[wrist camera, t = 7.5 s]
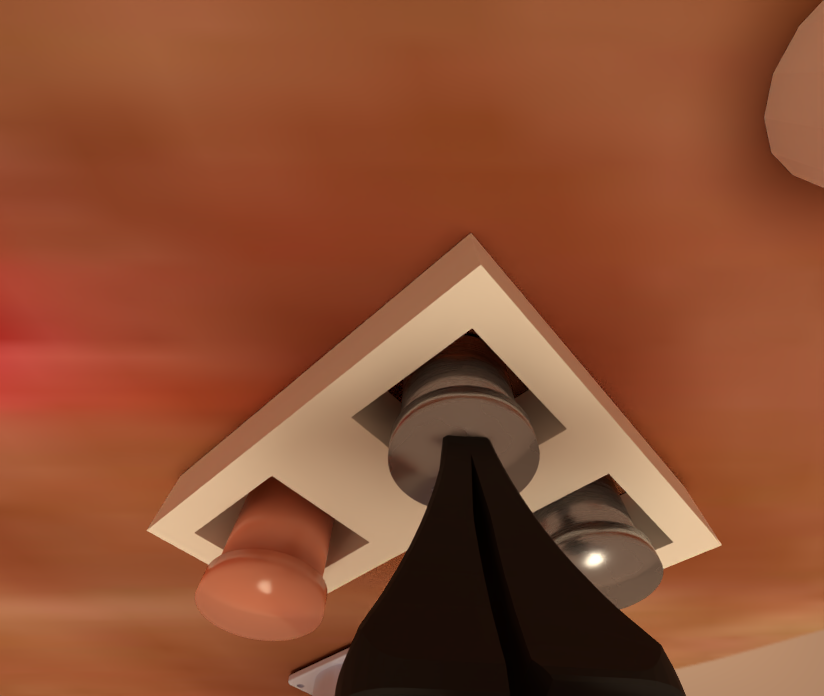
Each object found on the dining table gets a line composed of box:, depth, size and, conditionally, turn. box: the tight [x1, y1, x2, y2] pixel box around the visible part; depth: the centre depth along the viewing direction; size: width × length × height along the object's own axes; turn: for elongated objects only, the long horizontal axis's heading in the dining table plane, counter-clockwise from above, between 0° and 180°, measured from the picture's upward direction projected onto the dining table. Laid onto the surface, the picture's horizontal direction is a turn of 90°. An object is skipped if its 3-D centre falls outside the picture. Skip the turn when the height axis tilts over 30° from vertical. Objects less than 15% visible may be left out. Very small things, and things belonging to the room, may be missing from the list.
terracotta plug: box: [195, 477, 335, 641], centre depth 18 cm, size 5×5×4 cm
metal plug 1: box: [388, 335, 540, 506], centre depth 15 cm, size 5×5×4 cm
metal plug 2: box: [533, 474, 663, 609], centre depth 18 cm, size 5×5×4 cm
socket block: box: [147, 233, 722, 594], centre depth 19 cm, size 16×18×3 cm
